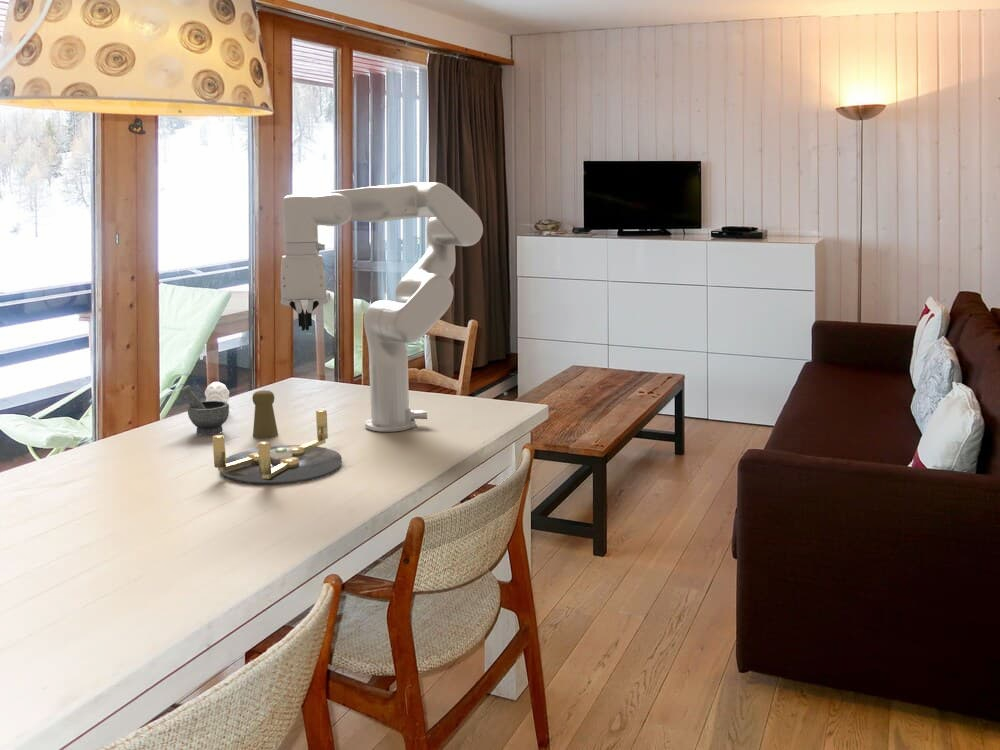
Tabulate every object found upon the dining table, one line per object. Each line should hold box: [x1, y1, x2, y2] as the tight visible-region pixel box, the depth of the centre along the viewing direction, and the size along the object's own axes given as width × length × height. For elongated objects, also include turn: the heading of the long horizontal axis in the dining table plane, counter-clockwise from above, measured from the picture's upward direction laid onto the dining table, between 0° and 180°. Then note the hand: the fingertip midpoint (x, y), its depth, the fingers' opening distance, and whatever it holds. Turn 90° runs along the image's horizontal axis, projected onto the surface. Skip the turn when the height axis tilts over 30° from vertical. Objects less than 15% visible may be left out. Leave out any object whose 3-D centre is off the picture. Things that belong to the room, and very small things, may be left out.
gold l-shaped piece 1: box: [212, 434, 259, 472], centre depth 217 cm, size 13×4×8 cm, turn 143°
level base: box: [219, 444, 343, 486], centre depth 222 cm, size 26×26×4 cm
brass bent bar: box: [289, 409, 329, 457], centre depth 230 cm, size 13×4×8 cm, turn 153°
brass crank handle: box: [257, 441, 299, 479], centre depth 213 cm, size 13×4×8 cm, turn 162°
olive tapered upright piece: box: [251, 389, 279, 439], centre depth 247 cm, size 6×6×11 cm
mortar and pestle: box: [179, 384, 230, 436], centre depth 250 cm, size 11×9×12 cm
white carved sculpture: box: [204, 381, 230, 403], centre depth 266 cm, size 6×8×12 cm
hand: (305, 329), depth 236 cm, fingers closed
